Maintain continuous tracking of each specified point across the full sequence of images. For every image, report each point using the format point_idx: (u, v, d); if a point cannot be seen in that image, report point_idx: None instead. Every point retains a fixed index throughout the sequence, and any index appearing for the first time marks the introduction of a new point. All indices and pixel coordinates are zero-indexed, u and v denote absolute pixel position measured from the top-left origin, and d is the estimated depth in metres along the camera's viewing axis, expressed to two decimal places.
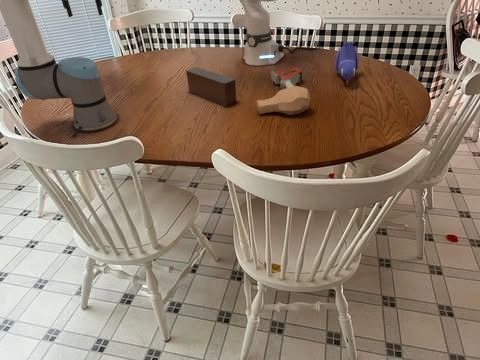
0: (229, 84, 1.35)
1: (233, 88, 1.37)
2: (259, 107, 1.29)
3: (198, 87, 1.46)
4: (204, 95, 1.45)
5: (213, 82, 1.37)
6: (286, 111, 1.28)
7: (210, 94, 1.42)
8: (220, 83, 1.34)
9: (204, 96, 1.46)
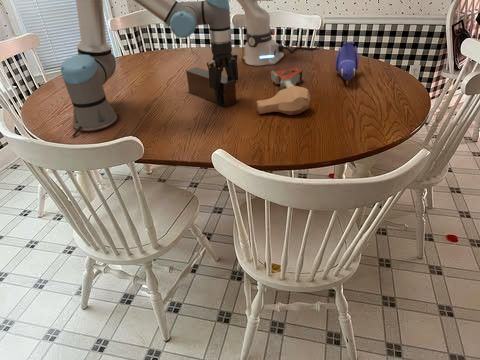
0: (229, 84, 1.35)
1: (233, 88, 1.37)
2: (259, 107, 1.29)
3: (198, 87, 1.46)
4: (204, 95, 1.45)
5: None
6: (286, 111, 1.28)
7: (210, 94, 1.42)
8: None
9: (204, 96, 1.46)
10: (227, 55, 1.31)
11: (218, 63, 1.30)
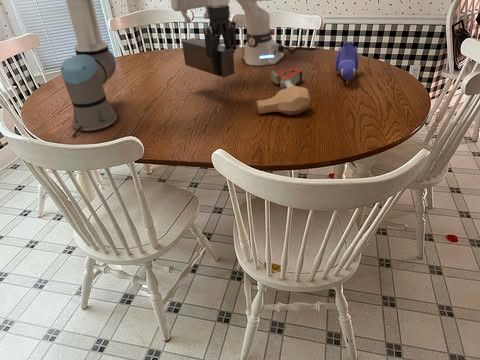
0: (227, 53, 1.28)
1: (231, 57, 1.30)
2: (259, 107, 1.29)
3: (195, 58, 1.39)
4: (201, 66, 1.38)
5: None
6: (286, 111, 1.28)
7: (207, 64, 1.35)
8: None
9: (201, 68, 1.39)
10: (225, 21, 1.24)
11: (215, 29, 1.23)
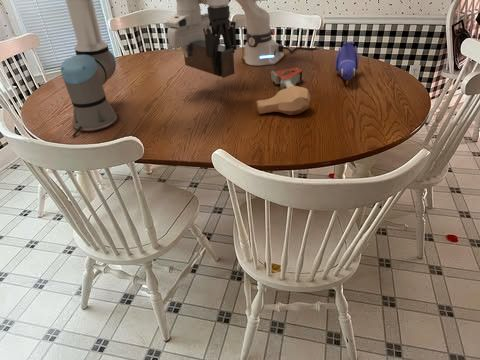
0: (227, 53, 1.28)
1: (231, 57, 1.30)
2: (259, 107, 1.29)
3: (195, 58, 1.39)
4: (201, 66, 1.38)
5: None
6: (286, 111, 1.28)
7: (207, 64, 1.35)
8: None
9: (201, 68, 1.39)
10: (225, 21, 1.24)
11: (215, 29, 1.23)
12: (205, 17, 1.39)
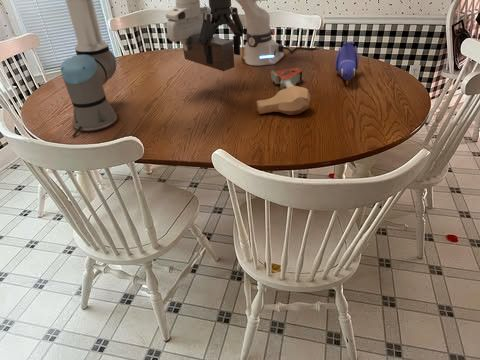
0: (227, 46, 1.27)
1: (231, 51, 1.29)
2: (259, 107, 1.29)
3: (194, 51, 1.37)
4: (201, 60, 1.37)
5: None
6: (286, 111, 1.28)
7: None
8: (217, 45, 1.26)
9: (200, 61, 1.37)
10: (226, 11, 1.22)
11: (216, 19, 1.20)
12: (204, 10, 1.37)
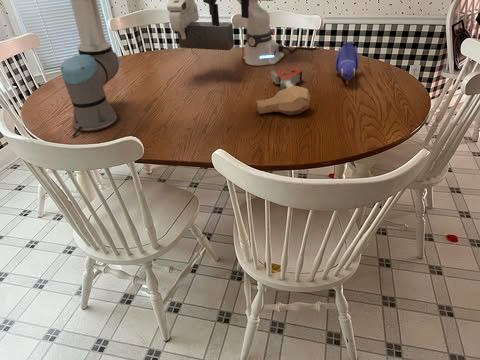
0: (230, 28, 1.47)
1: (232, 32, 1.50)
2: (259, 107, 1.29)
3: (193, 38, 1.52)
4: (201, 45, 1.53)
5: (213, 28, 1.47)
6: (286, 111, 1.28)
7: (209, 41, 1.51)
8: (222, 27, 1.45)
9: (201, 46, 1.53)
10: None
11: None
12: None
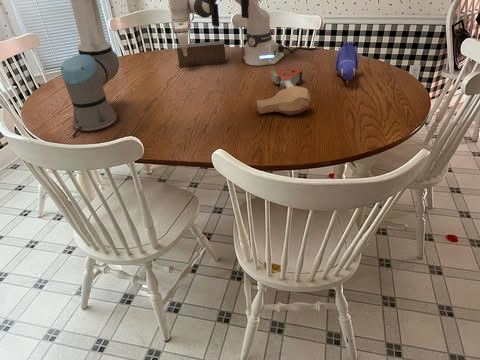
0: None
1: None
2: (259, 107, 1.29)
3: (193, 57, 1.78)
4: (200, 62, 1.80)
5: (211, 47, 1.76)
6: (286, 111, 1.28)
7: (208, 58, 1.79)
8: (219, 45, 1.76)
9: (199, 63, 1.80)
10: None
11: None
12: None
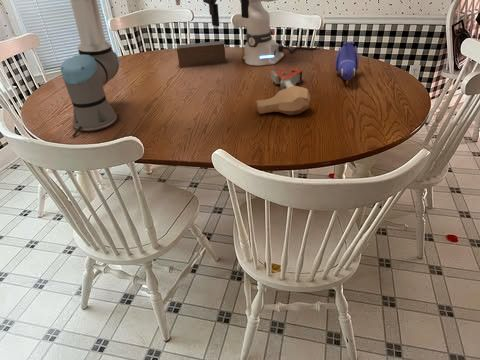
0: None
1: None
2: (259, 107, 1.29)
3: (193, 57, 1.78)
4: (200, 62, 1.80)
5: (211, 47, 1.76)
6: (286, 111, 1.28)
7: (208, 58, 1.79)
8: (219, 45, 1.76)
9: (199, 63, 1.80)
10: None
11: None
12: None
